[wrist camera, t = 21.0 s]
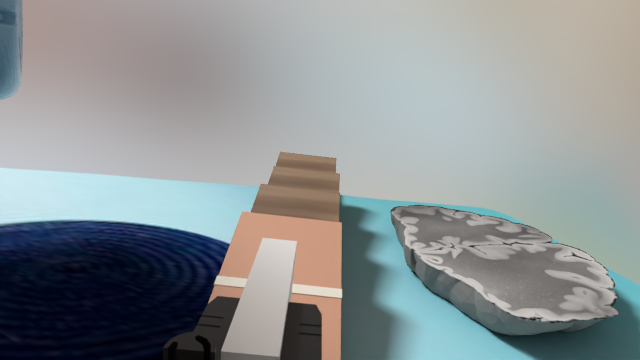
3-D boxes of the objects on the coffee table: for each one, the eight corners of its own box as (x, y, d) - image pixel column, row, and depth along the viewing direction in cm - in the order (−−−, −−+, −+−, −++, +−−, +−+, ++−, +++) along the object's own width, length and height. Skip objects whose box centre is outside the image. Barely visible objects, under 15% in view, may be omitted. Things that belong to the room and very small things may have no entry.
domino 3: (336, 312, 21) (340, 192, 31) (218, 298, 21) (260, 183, 31) (332, 332, 22) (337, 210, 32) (221, 319, 22) (260, 201, 32)
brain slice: (674, 339, 26) (691, 304, 25) (490, 375, 20) (503, 333, 20) (483, 226, 44) (489, 204, 43) (358, 230, 38) (362, 205, 37)
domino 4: (341, 413, 15) (342, 222, 24) (171, 395, 15) (241, 210, 24) (335, 433, 16) (338, 243, 26) (178, 416, 16) (242, 232, 26)
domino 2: (335, 258, 27) (340, 173, 37) (245, 247, 27) (273, 165, 37) (332, 276, 28) (338, 189, 38) (246, 265, 28) (273, 181, 38)
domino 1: (333, 222, 33) (336, 157, 43) (259, 214, 33) (279, 151, 43) (331, 238, 35) (334, 172, 45) (260, 230, 35) (279, 165, 45)
